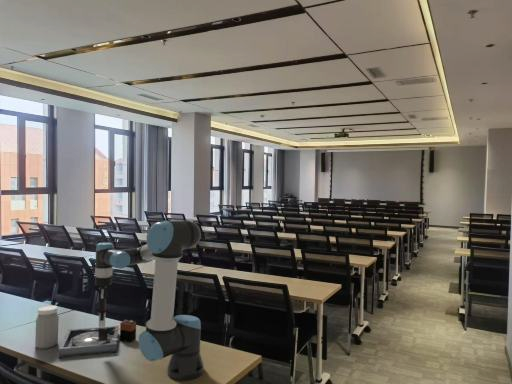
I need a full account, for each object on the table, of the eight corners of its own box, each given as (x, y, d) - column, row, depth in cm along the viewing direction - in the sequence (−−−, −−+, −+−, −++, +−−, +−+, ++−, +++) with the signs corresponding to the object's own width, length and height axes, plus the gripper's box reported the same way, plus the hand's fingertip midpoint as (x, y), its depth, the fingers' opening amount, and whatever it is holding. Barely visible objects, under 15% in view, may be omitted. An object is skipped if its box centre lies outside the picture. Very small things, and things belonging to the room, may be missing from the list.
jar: (47, 340, 187) (48, 303, 187) (62, 343, 184) (63, 306, 184) (29, 347, 178) (31, 309, 178) (46, 351, 175) (47, 312, 175)
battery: (130, 342, 187) (130, 322, 187) (119, 340, 190) (120, 320, 190) (136, 339, 191) (136, 320, 191) (125, 337, 194) (125, 318, 194)
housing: (117, 352, 176) (118, 343, 176) (58, 358, 168) (58, 348, 168) (119, 333, 199) (120, 325, 199) (67, 337, 191) (68, 329, 191)
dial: (63, 346, 177) (63, 331, 177) (86, 333, 194) (87, 319, 194) (95, 351, 173) (95, 335, 173) (116, 337, 190) (117, 322, 190)
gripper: (111, 279, 171) (109, 331, 171) (113, 272, 183) (111, 320, 184) (93, 279, 169) (91, 332, 169) (96, 273, 181) (94, 321, 181)
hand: (101, 326), depth 176 cm, fingers closed
